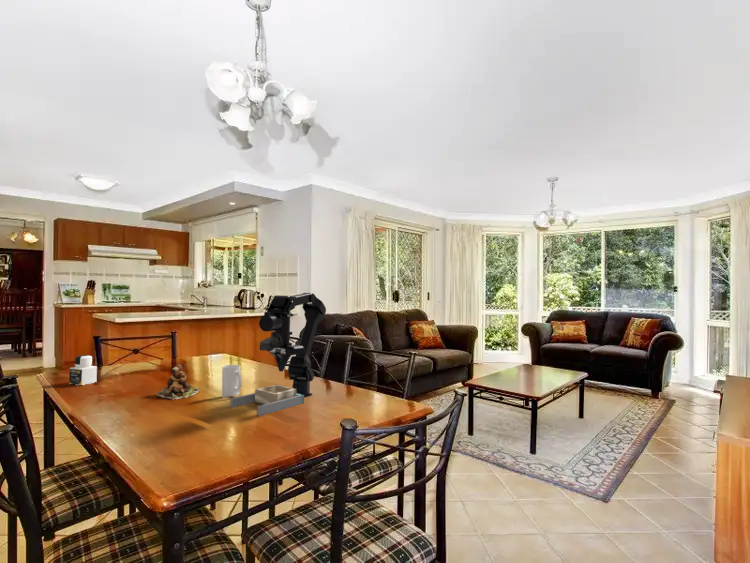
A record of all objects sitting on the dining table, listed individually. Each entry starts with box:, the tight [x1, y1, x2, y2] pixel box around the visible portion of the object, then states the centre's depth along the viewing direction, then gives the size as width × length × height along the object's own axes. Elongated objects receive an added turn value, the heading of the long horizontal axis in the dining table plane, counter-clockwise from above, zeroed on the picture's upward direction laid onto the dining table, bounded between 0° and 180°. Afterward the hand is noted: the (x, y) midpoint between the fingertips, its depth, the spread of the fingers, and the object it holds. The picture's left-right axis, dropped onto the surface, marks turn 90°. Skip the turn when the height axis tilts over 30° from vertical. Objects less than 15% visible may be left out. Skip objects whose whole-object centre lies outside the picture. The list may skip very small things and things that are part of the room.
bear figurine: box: [157, 362, 200, 401], centre depth 165 cm, size 14×15×12 cm
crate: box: [254, 384, 296, 406], centre depth 152 cm, size 10×11×5 cm
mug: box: [221, 364, 242, 399], centre depth 162 cm, size 10×7×12 cm, turn 50°
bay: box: [229, 392, 305, 417], centre depth 149 cm, size 20×16×4 cm
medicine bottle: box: [68, 354, 98, 386], centre depth 180 cm, size 7×7×12 cm
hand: (281, 371), depth 154 cm, fingers closed
